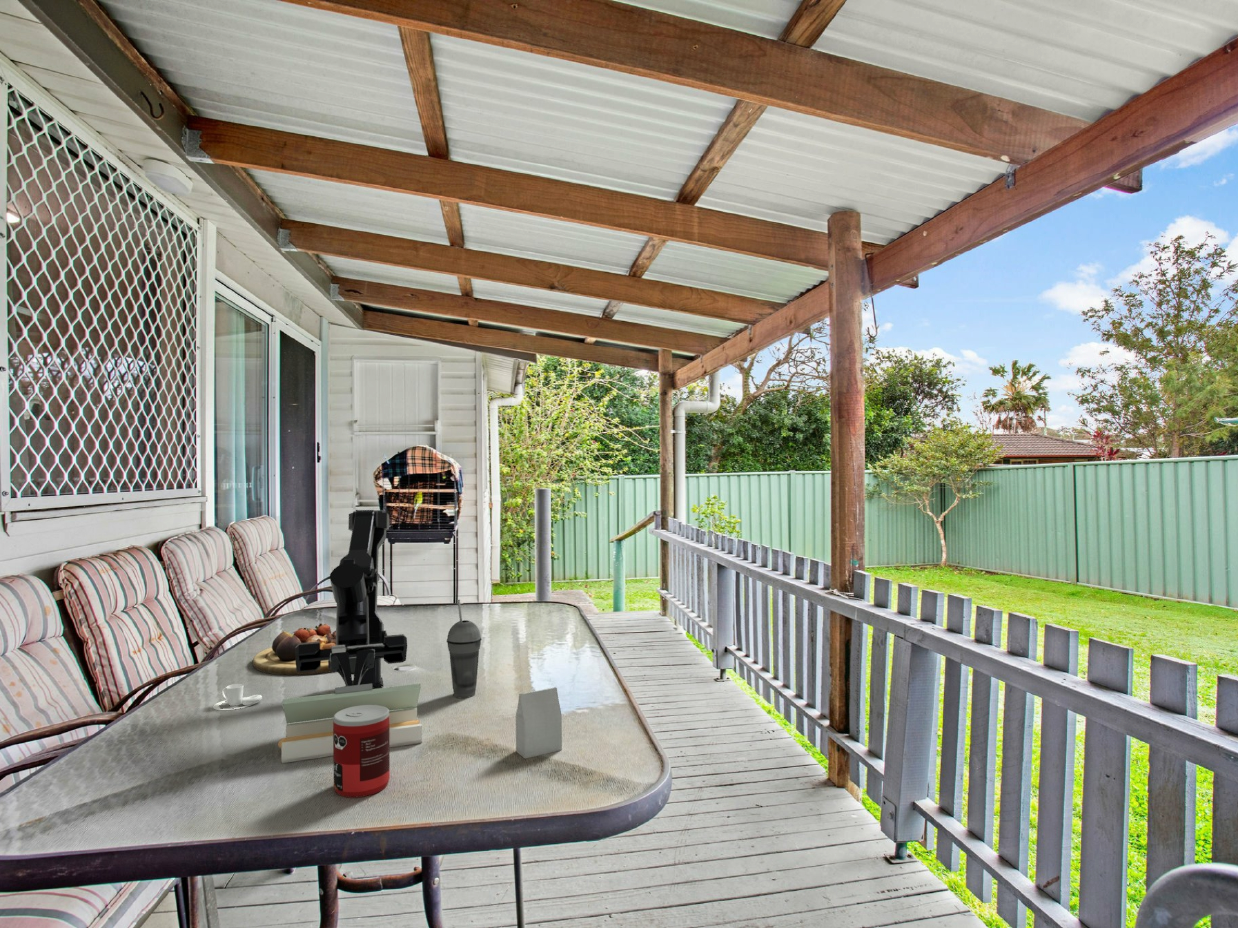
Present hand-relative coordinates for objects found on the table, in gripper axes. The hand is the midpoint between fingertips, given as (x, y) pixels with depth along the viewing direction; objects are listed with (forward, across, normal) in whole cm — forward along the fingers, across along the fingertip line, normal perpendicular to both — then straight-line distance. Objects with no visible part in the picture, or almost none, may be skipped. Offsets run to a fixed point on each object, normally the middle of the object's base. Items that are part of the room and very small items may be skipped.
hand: (352, 695), depth 120 cm
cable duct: (+5, 0, -7) cm, 8 cm away
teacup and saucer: (-14, +22, -27) cm, 38 cm away
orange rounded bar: (+5, 0, -7) cm, 8 cm away
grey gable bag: (+17, -29, +4) cm, 34 cm away
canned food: (+19, -1, +7) cm, 20 cm away
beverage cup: (-8, -22, -20) cm, 31 cm away
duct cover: (0, 0, -3) cm, 3 cm away
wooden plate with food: (-40, +7, -52) cm, 66 cm away
